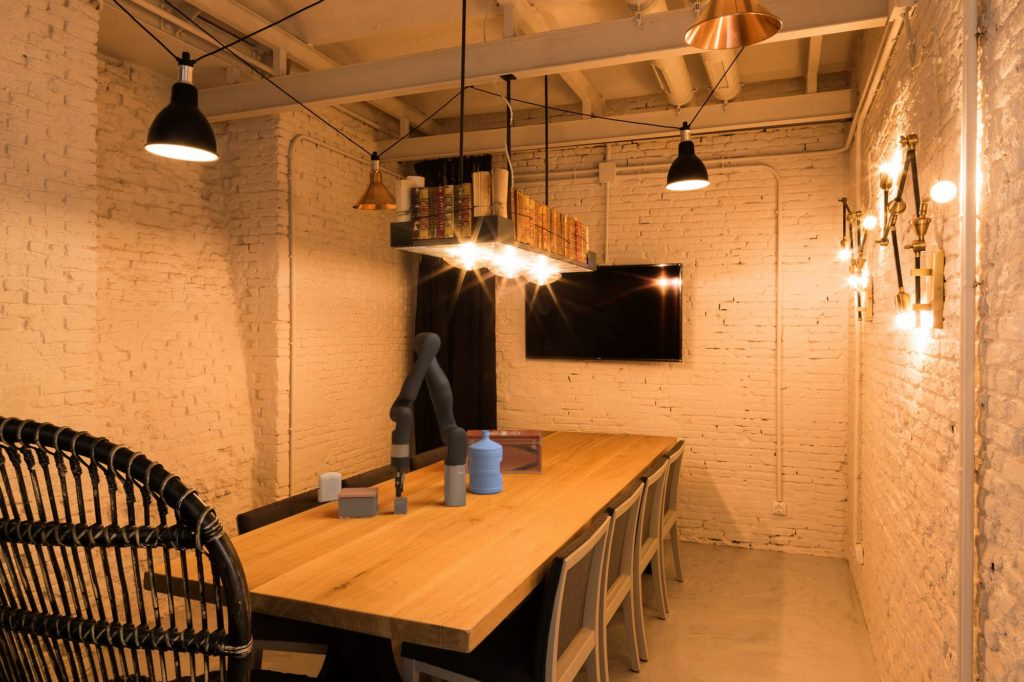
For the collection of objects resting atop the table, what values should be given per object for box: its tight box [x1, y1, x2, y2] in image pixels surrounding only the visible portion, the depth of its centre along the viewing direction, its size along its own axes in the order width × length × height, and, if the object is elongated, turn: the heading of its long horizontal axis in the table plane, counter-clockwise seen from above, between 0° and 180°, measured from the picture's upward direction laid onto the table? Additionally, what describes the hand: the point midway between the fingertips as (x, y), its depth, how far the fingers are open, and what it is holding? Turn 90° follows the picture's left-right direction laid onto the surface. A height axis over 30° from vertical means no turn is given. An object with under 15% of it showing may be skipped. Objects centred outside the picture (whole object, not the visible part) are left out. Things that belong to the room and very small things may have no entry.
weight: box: [393, 496, 408, 515], centre depth 278 cm, size 5×5×6 cm
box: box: [337, 490, 379, 519], centre depth 277 cm, size 14×12×8 cm
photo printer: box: [317, 471, 342, 503], centre depth 300 cm, size 10×4×12 cm, turn 123°
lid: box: [337, 486, 379, 498], centre depth 277 cm, size 15×12×1 cm
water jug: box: [468, 429, 504, 495], centre depth 316 cm, size 16×16×28 cm
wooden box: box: [466, 429, 543, 475], centre depth 363 cm, size 20×41×20 cm, turn 89°
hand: (399, 494), depth 278 cm, fingers open, 8 cm apart
